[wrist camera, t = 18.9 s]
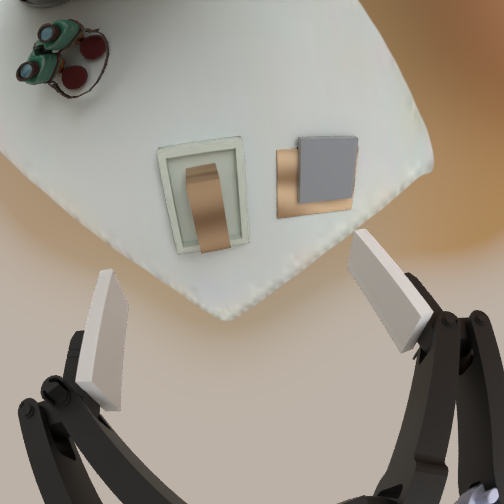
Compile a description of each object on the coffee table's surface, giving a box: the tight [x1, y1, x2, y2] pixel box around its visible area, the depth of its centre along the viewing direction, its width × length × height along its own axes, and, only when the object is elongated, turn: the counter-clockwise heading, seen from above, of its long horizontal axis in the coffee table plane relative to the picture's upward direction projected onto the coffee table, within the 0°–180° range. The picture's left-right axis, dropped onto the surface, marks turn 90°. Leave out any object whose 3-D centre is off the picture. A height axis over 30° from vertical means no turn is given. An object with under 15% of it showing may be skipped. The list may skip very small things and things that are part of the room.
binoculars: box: [16, 19, 109, 99], centre depth 21 cm, size 9×11×10 cm
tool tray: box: [157, 136, 249, 254], centre depth 40 cm, size 16×11×2 cm
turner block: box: [186, 163, 231, 253], centre depth 38 cm, size 10×4×6 cm, turn 5°
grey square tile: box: [297, 136, 358, 204], centre depth 41 cm, size 1×9×10 cm
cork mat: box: [277, 148, 358, 218], centre depth 43 cm, size 11×13×1 cm
